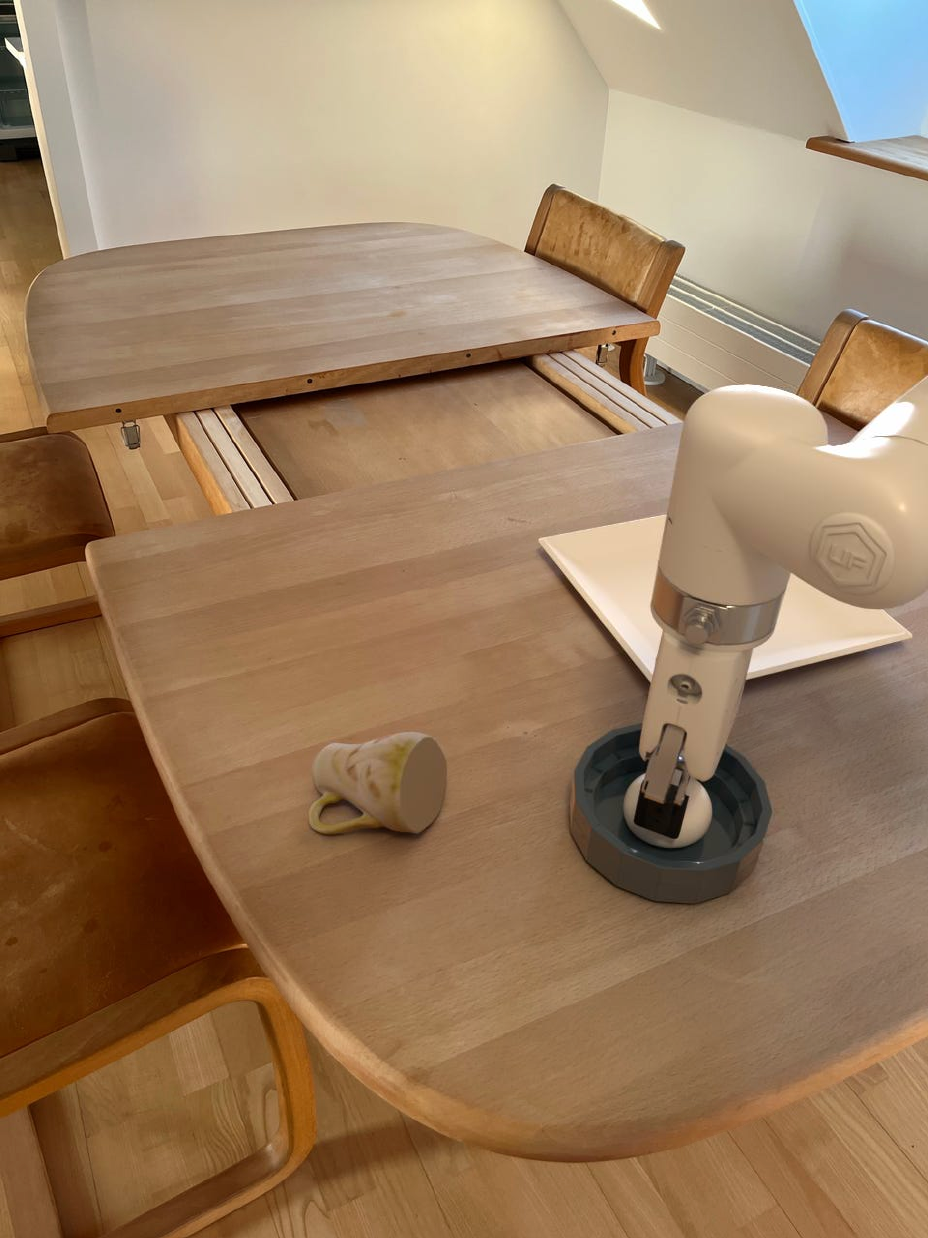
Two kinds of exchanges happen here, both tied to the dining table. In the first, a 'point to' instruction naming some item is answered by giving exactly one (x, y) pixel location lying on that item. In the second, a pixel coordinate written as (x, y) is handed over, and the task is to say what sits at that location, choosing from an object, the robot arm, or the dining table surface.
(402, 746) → the mug
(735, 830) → the bowl
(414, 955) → the dining table surface
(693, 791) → the garlic bulb
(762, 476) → the robot arm
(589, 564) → the plate
